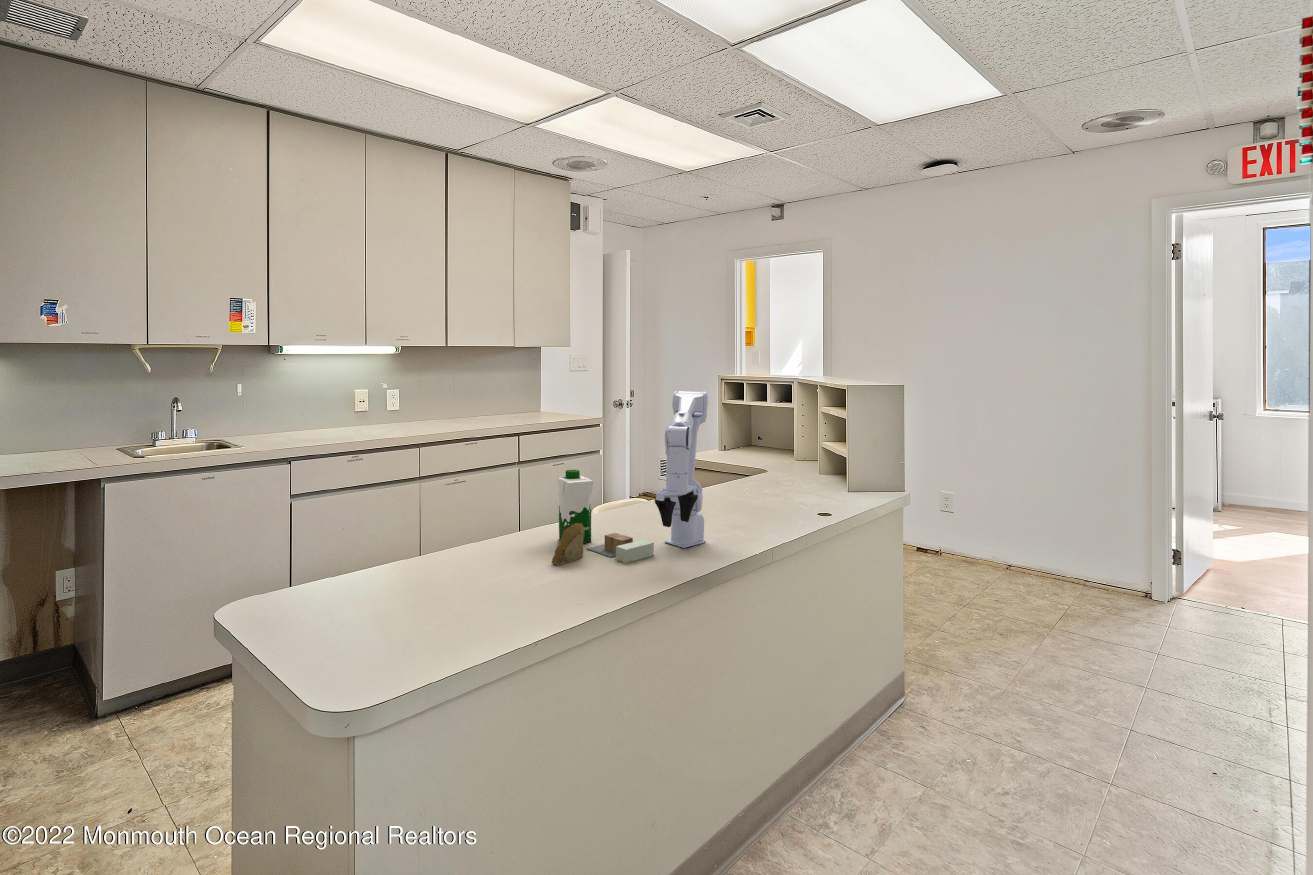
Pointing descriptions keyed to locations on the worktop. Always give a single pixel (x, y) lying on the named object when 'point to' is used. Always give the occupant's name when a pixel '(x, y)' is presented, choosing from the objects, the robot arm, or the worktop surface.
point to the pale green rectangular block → (634, 551)
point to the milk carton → (575, 502)
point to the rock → (570, 545)
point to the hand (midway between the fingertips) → (675, 523)
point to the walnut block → (615, 541)
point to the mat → (602, 551)
